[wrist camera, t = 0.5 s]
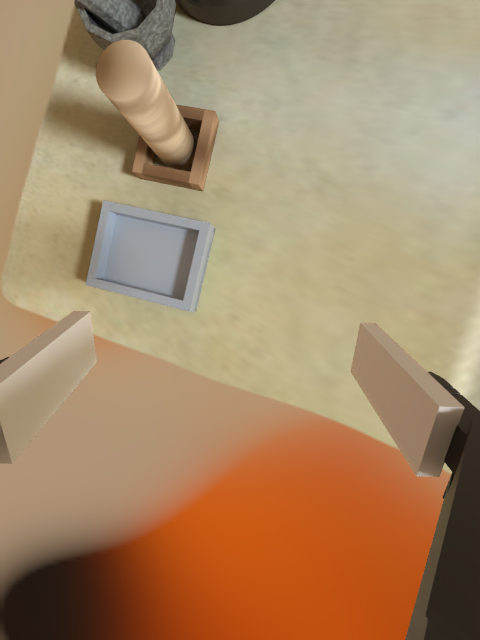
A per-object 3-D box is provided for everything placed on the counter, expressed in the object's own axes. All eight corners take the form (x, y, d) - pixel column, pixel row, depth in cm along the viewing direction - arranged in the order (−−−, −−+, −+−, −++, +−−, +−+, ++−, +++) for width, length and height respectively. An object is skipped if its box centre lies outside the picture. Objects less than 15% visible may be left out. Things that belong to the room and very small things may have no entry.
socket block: (154, 110, 38) (147, 100, 36) (219, 121, 37) (215, 111, 35) (139, 178, 39) (132, 171, 37) (203, 191, 38) (198, 184, 36)
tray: (114, 207, 39) (103, 200, 37) (215, 228, 38) (210, 223, 35) (98, 286, 40) (85, 284, 38) (195, 311, 38) (189, 311, 36)
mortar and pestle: (185, -4, 37) (137, -150, 25) (194, 77, 37) (150, -31, 26) (96, 19, 39) (13, -107, 27) (105, 97, 39) (26, 5, 27)
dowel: (165, 128, 38) (102, 36, 25) (201, 134, 38) (156, 43, 25) (156, 166, 38) (90, 95, 26) (192, 173, 38) (143, 104, 25)
